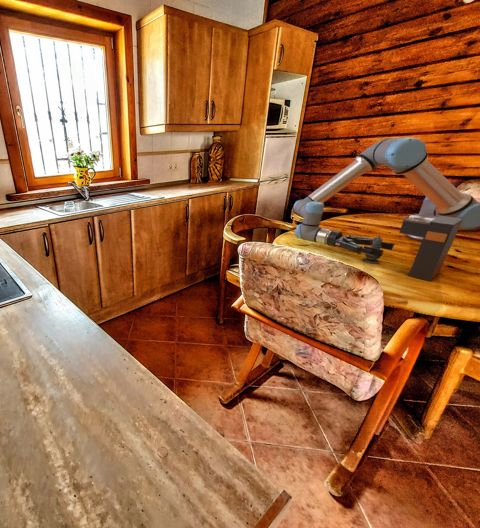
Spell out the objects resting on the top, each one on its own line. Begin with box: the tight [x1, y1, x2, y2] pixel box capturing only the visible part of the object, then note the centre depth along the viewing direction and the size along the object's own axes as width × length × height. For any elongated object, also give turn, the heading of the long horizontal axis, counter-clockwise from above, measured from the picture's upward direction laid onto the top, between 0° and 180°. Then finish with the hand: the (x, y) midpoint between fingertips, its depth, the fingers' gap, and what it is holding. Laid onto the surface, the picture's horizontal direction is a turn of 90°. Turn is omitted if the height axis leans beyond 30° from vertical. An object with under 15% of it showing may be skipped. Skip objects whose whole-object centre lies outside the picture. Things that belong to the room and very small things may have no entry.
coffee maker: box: [398, 212, 463, 282], centre depth 107 cm, size 13×13×22 cm
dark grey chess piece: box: [362, 235, 383, 264], centre depth 120 cm, size 6×6×12 cm
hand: (387, 250), depth 117 cm, fingers open, 10 cm apart
